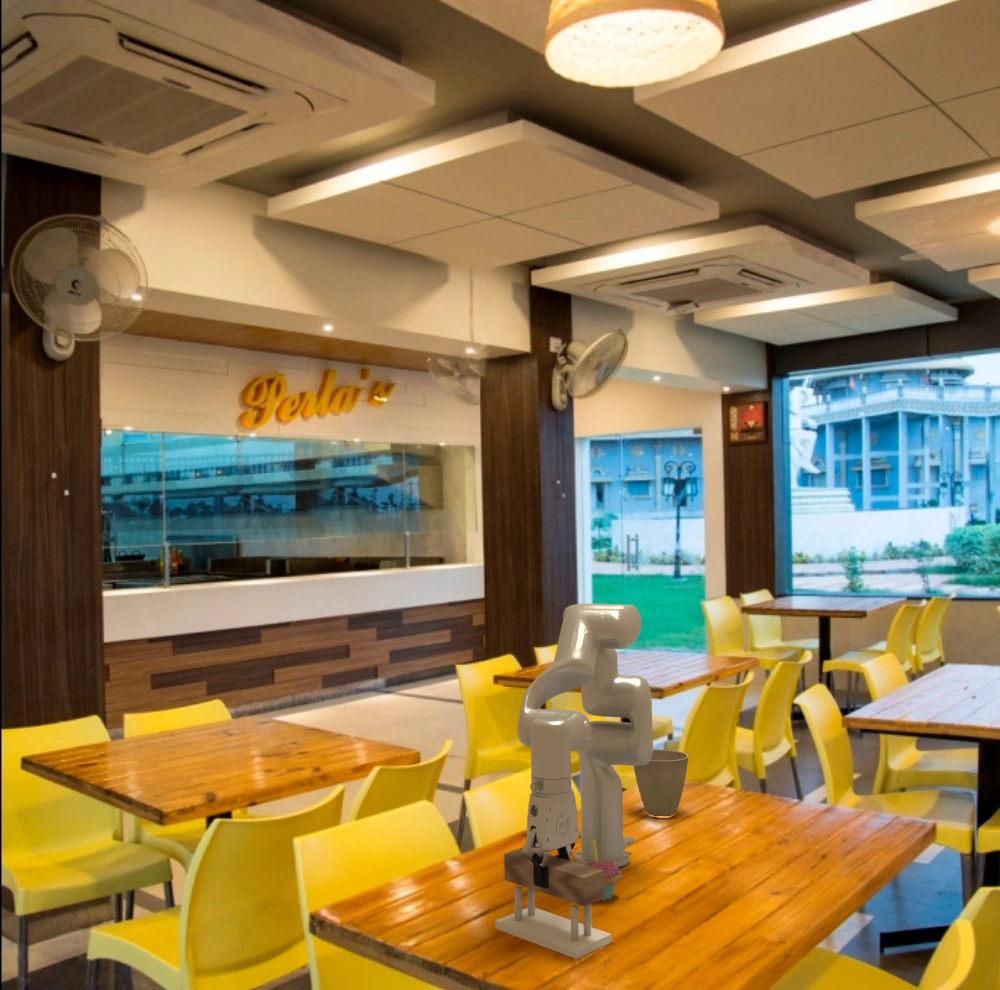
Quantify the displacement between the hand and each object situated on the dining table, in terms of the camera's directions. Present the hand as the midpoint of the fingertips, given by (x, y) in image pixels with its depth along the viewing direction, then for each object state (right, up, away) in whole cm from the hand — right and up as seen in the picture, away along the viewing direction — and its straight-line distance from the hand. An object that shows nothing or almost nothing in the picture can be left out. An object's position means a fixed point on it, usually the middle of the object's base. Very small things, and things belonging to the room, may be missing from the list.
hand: (552, 881), depth 187 cm
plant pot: (+33, -13, +79) cm, 87 cm away
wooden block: (0, -1, 0) cm, 1 cm away
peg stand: (0, -10, -1) cm, 10 cm away
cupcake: (+11, -11, +19) cm, 25 cm away
